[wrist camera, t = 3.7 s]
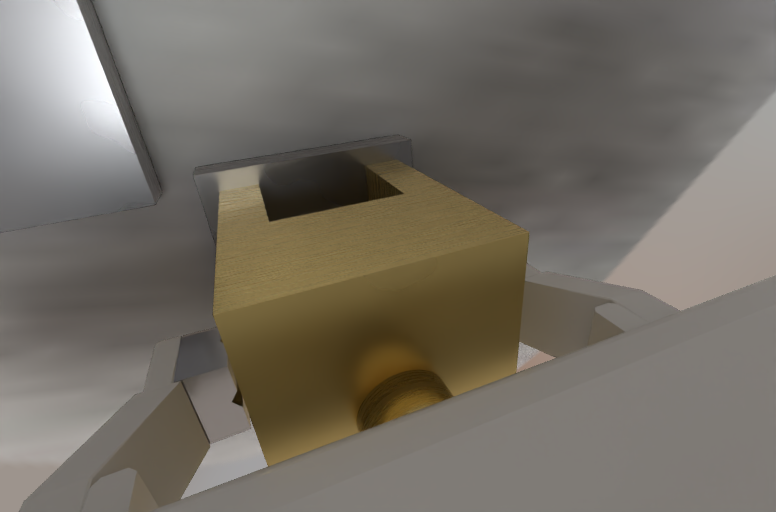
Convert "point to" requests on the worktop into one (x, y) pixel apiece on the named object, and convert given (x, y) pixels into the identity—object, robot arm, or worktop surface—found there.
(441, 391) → the gold knobbed block
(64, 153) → the rail
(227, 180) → the thin grey square plate
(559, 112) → the worktop surface
